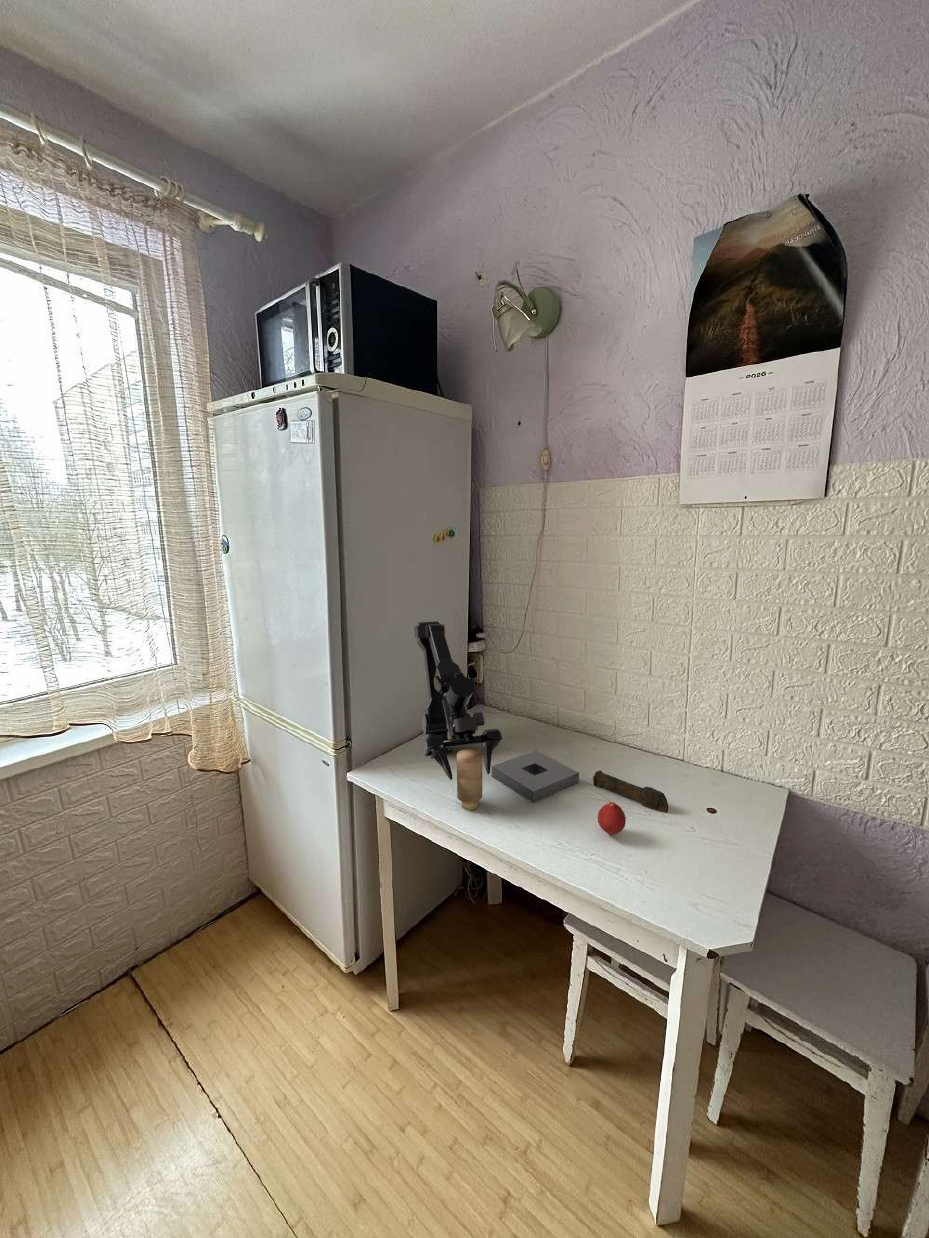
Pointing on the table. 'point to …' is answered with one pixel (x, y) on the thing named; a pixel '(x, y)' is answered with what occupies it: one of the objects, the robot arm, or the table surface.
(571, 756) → the table surface
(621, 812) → the red pomegranate
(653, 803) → the hand tool
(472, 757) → the walnut pin
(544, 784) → the socket block
